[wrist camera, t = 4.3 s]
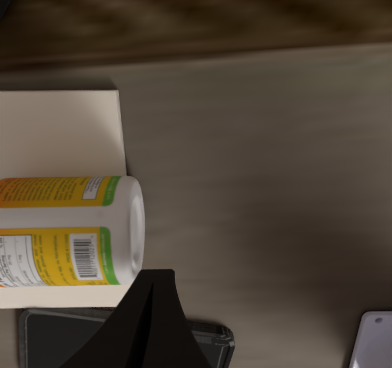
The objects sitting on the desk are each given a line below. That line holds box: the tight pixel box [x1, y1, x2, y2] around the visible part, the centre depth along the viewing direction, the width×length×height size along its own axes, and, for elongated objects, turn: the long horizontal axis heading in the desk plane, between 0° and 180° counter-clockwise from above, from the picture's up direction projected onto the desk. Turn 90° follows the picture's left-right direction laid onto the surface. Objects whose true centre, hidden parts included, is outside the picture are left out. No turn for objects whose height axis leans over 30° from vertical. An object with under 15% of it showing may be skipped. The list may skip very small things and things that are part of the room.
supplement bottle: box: [0, 176, 145, 287], centre depth 16 cm, size 5×5×10 cm
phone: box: [18, 307, 235, 368], centre depth 24 cm, size 8×1×15 cm
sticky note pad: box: [0, 90, 131, 308], centre depth 19 cm, size 14×14×1 cm
